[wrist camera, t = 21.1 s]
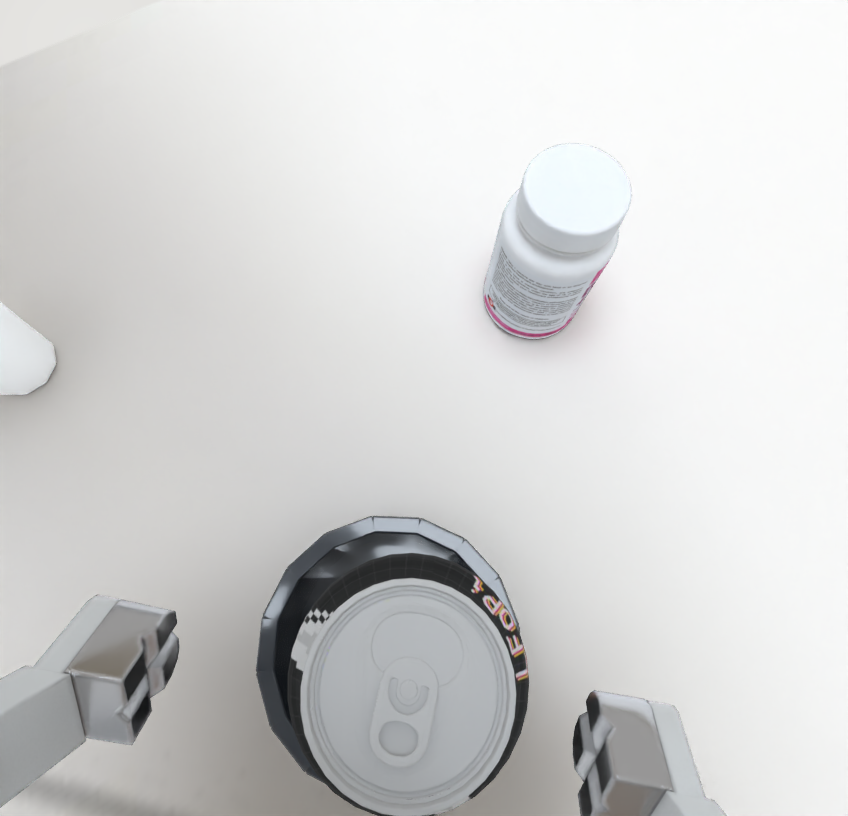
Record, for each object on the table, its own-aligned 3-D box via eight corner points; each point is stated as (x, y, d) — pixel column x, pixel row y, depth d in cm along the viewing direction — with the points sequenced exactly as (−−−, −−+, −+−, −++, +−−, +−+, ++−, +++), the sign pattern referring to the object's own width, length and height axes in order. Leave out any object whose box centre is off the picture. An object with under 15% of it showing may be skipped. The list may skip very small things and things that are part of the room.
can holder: (277, 748, 22) (240, 796, 18) (299, 523, 25) (273, 511, 20) (497, 756, 22) (521, 805, 18) (497, 531, 25) (518, 521, 20)
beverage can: (322, 692, 22) (230, 814, 11) (359, 548, 24) (313, 522, 13) (462, 727, 22) (520, 890, 11) (490, 579, 24) (566, 583, 12)
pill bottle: (581, 341, 28) (651, 245, 20) (484, 342, 28) (516, 245, 20) (571, 256, 29) (634, 133, 21) (479, 256, 29) (507, 133, 21)
